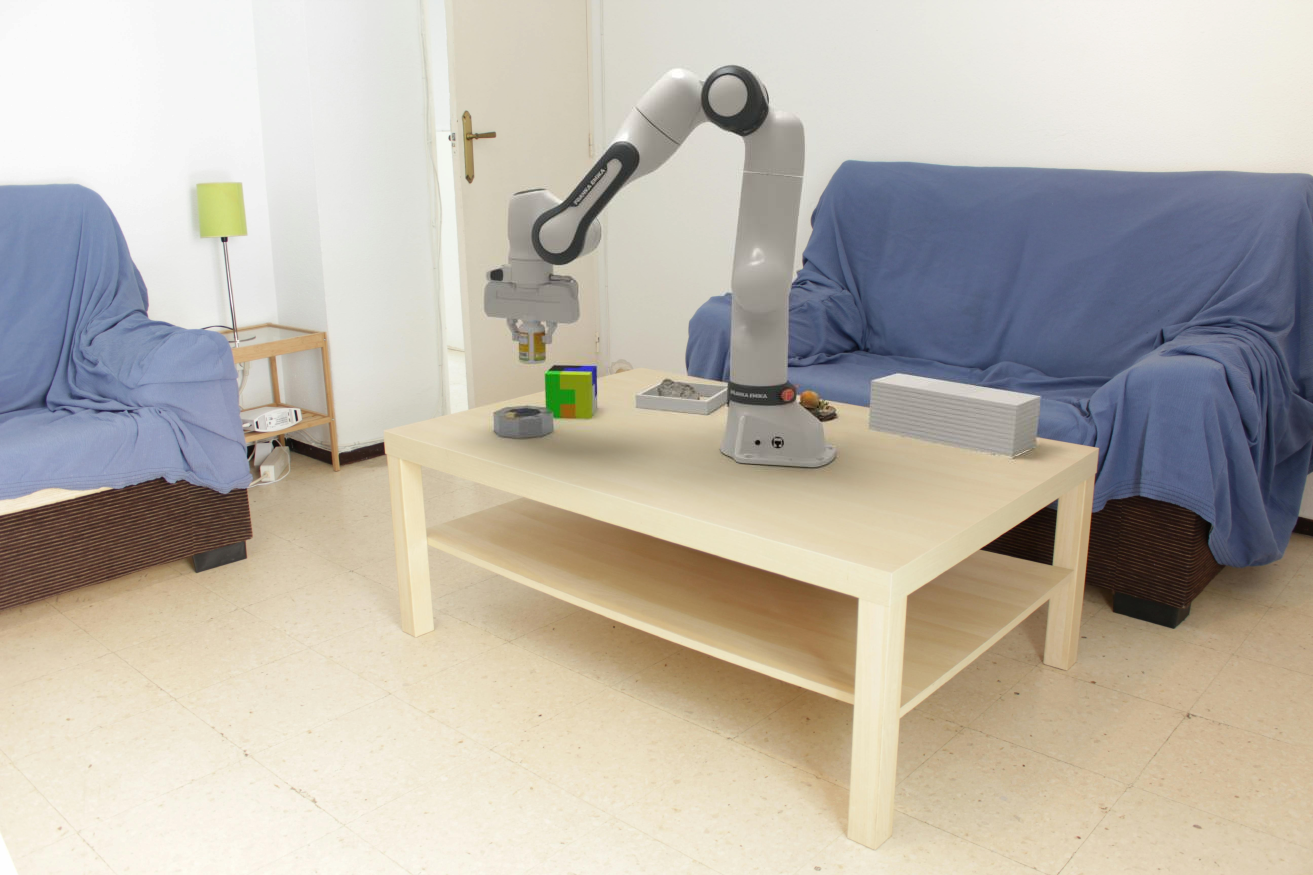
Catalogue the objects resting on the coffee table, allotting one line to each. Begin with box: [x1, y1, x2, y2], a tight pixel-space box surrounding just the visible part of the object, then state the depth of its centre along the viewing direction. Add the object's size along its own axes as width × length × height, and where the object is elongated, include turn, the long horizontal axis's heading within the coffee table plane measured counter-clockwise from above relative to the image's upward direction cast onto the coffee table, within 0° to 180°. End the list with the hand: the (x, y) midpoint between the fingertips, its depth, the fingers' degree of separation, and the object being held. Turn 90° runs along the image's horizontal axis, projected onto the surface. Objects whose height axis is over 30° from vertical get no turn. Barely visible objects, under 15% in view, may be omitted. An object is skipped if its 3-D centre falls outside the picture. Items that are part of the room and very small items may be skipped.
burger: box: [798, 390, 837, 423], centre depth 225 cm, size 12×12×8 cm
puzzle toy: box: [544, 364, 598, 420], centre depth 227 cm, size 10×10×10 cm
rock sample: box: [657, 377, 701, 400], centre depth 233 cm, size 11×8×9 cm
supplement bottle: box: [518, 315, 547, 365], centre depth 202 cm, size 5×5×10 cm
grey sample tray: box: [635, 380, 728, 416], centre depth 237 cm, size 18×18×3 cm
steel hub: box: [492, 404, 555, 440], centre depth 212 cm, size 12×12×5 cm
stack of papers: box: [867, 372, 1042, 457], centre depth 206 cm, size 32×11×11 cm, turn 46°
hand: (532, 342), depth 202 cm, fingers closed on supplement bottle, 5 cm apart
